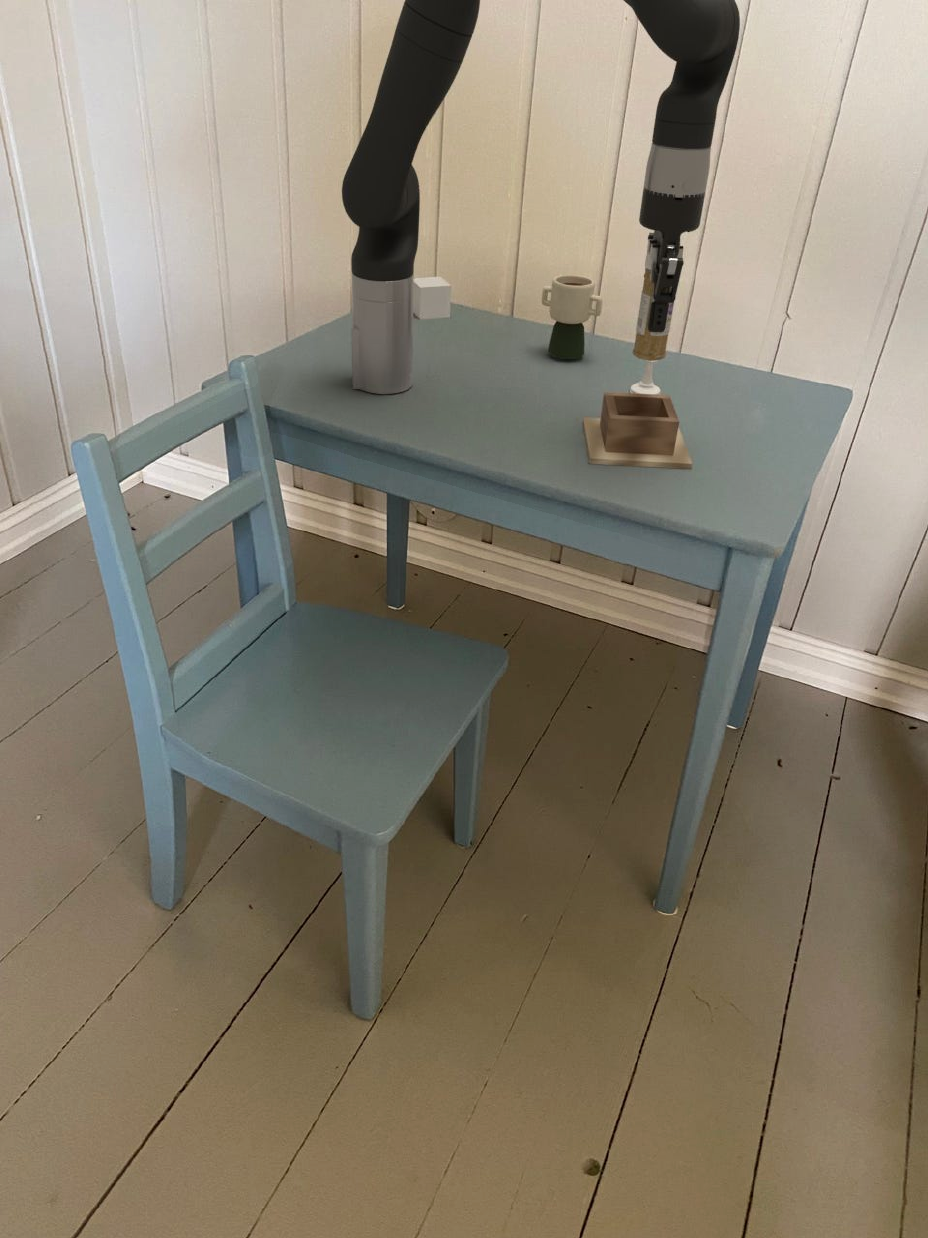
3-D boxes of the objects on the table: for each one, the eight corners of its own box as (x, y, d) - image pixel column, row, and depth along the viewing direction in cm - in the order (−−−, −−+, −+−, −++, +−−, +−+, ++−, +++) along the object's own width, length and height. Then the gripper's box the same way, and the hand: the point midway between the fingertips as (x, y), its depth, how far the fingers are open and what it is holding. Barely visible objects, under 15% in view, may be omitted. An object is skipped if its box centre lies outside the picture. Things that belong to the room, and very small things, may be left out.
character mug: (602, 356, 162) (612, 280, 155) (586, 369, 157) (596, 290, 150) (545, 344, 166) (552, 269, 159) (528, 355, 161) (535, 279, 154)
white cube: (439, 308, 181) (440, 276, 178) (450, 317, 177) (451, 285, 173) (410, 310, 179) (410, 278, 176) (419, 319, 175) (420, 287, 171)
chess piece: (659, 400, 147) (670, 338, 141) (628, 396, 148) (638, 334, 142) (661, 389, 151) (671, 328, 145) (630, 385, 152) (639, 324, 146)
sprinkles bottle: (663, 363, 123) (680, 258, 116) (629, 358, 124) (644, 254, 117) (667, 352, 127) (684, 250, 119) (634, 347, 128) (649, 246, 120)
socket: (589, 463, 127) (594, 424, 124) (582, 422, 139) (587, 384, 136) (691, 468, 127) (699, 429, 124) (675, 426, 139) (682, 389, 135)
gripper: (637, 173, 119) (619, 307, 129) (651, 196, 108) (631, 341, 117) (695, 175, 119) (673, 309, 129) (716, 199, 107) (690, 344, 117)
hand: (653, 324), depth 123 cm, fingers closed on sprinkles bottle, 4 cm apart
